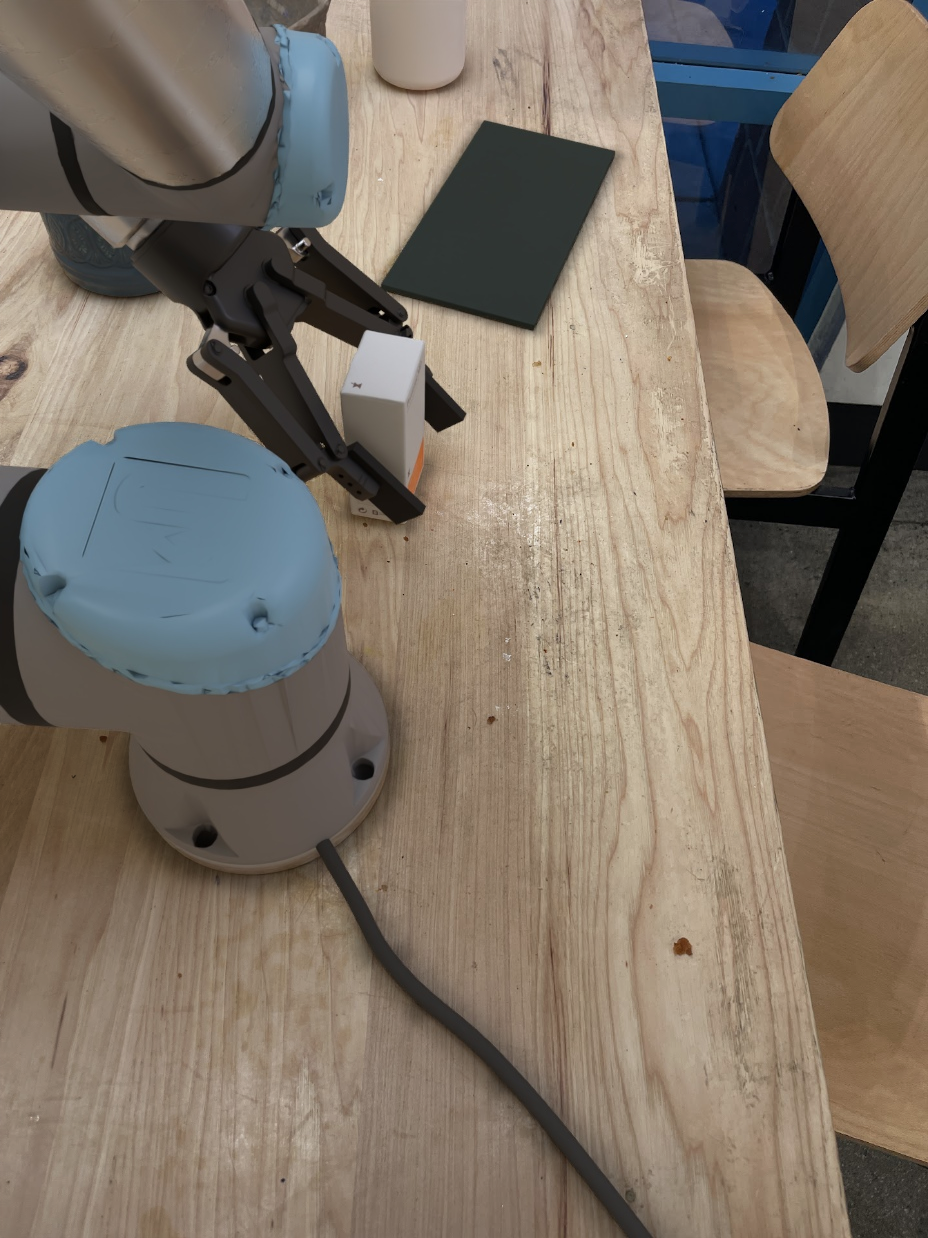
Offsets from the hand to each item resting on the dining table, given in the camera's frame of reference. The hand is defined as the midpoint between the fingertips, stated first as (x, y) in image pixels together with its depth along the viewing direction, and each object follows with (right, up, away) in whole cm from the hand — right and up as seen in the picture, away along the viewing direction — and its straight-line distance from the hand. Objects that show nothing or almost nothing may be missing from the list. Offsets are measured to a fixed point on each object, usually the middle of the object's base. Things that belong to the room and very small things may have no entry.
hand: (432, 467), depth 62 cm
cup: (-3, +49, +35) cm, 60 cm away
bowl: (-21, +45, +31) cm, 59 cm away
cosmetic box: (-3, -1, +4) cm, 5 cm away
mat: (+6, +27, +21) cm, 35 cm away
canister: (-27, +22, +17) cm, 39 cm away
